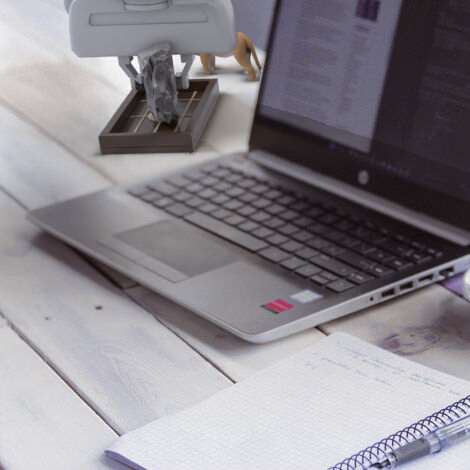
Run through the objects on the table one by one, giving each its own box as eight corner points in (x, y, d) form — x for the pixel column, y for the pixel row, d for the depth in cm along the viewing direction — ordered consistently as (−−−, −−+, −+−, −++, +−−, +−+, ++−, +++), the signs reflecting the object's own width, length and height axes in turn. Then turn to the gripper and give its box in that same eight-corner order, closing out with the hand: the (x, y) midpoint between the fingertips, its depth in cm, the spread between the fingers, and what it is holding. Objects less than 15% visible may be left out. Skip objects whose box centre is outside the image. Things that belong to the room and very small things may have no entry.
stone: (146, 97, 127) (136, 23, 123) (181, 95, 128) (172, 21, 123) (142, 137, 114) (131, 56, 109) (181, 134, 114) (171, 53, 110)
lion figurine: (172, 78, 139) (165, 17, 135) (189, 68, 143) (182, 8, 139) (265, 85, 135) (260, 22, 131) (279, 74, 139) (275, 12, 135)
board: (101, 157, 113) (97, 136, 111) (140, 99, 131) (137, 80, 130) (193, 155, 112) (191, 134, 111) (219, 97, 131) (217, 78, 130)
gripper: (51, -15, 111) (72, 99, 117) (226, -21, 110) (237, 94, 116) (67, -26, 116) (85, 82, 123) (233, -32, 116) (243, 78, 122)
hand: (161, 88), depth 119 cm, fingers closed on stone, 4 cm apart
